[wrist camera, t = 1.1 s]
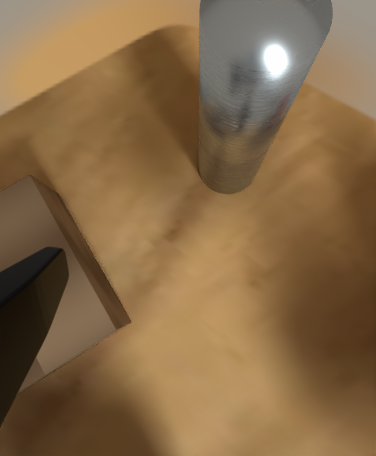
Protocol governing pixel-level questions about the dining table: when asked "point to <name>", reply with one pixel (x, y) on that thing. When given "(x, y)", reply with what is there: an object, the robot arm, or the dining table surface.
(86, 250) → the slot block
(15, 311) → the robot arm
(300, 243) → the dining table surface
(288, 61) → the pin
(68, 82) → the dining table surface
